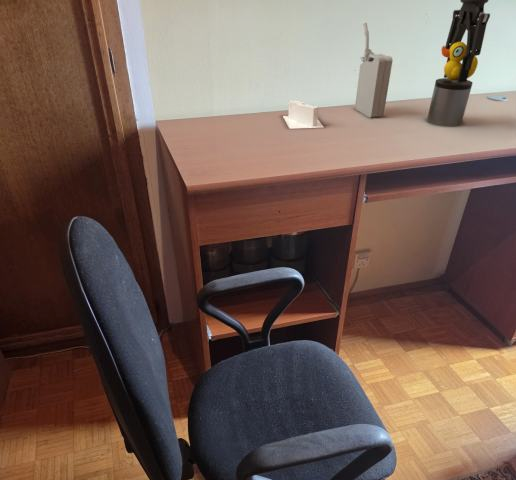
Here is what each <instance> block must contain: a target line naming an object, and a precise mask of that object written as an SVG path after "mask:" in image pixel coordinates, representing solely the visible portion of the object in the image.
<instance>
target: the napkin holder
mask: <svg viewBox="0 0 516 480" xmlns="http://www.w3.org/2000/svg"><path fill="white" fill-rule="evenodd" d="M282 117H283V119H284V121H285V123H286V124H287V127H288V129H289V130H290V129H291V130H293V129H294V130H295V129H314V128H315V129H319V128H324V125H323V124H322V123H321V121H320V120H319V106H315V105H311V104H306V103H305V102H303V101H299V100H294V99H293V100H290V101H288V115H283V116H282Z"/></svg>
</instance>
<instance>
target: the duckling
mask: <svg viewBox="0 0 516 480" xmlns="http://www.w3.org/2000/svg"><path fill="white" fill-rule="evenodd" d="M445 46H446V45H442V47H441V49H440V50H441V55H442V56H443V57H444V58H448V57H450V61H448V62H447V61H446V63H445V65H444V67H443V73H444V74H445V75H446V76H447V78H448V79H450V80H458V77H459V73H460V69H461V65H462V61H463V57H464V55H466V49H467V43H465V42H463V41H461V42H457V43H454V44H453V45H452V46H451V47H450V50H448V49H446V48H445ZM478 64H479V61H478V57H477V56H475V57H474V58H473V62H472V65H471V69H470V70H469V74H468V78H467V79H469V78H471V77H473V75H474V74H475V72H476V70H477V68H478Z"/></svg>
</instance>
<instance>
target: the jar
mask: <svg viewBox="0 0 516 480" xmlns="http://www.w3.org/2000/svg"><path fill="white" fill-rule="evenodd" d="M457 81H458V80H450V79H448V78H444V77H443V78H442V77H441V78H437V79H435V82H434V87H433V91H432V95H431V99H430V104H429V109H428V113H427V117H426V122H428V123H429V124H431V125H433V126H434V125H435V126H440V127H457V126H460V125H462V124H463V120H464V116H465V112H466V110H467V105H468V102H469V97H470V94H471V91H472V87H473V81H471V80H469V79H467V81H466V82H457Z"/></svg>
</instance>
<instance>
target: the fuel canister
mask: <svg viewBox="0 0 516 480" xmlns="http://www.w3.org/2000/svg"><path fill="white" fill-rule="evenodd" d="M363 30H364V36H365V49H364V54H363V56H360V60H361V62H362V63H360V65H359V71H358V78H357V79H358V80H357V87H356V95H355V104H354V110H356V111H358V112H359V113H361V114H363V115H364V116H366V117H367V118H370V119H371V118H382V117H384V115H385V109H386V103H387V96H388V91H389V86H390V78H391V72H392V67H393V61H394V60H393V57H392V56H390V55H386V54H383V53H379V54H377V53H375V52H373V51H372V49H370V33H369V32H370V31H369V28H368V23H367V22H365V23H363Z"/></svg>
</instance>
